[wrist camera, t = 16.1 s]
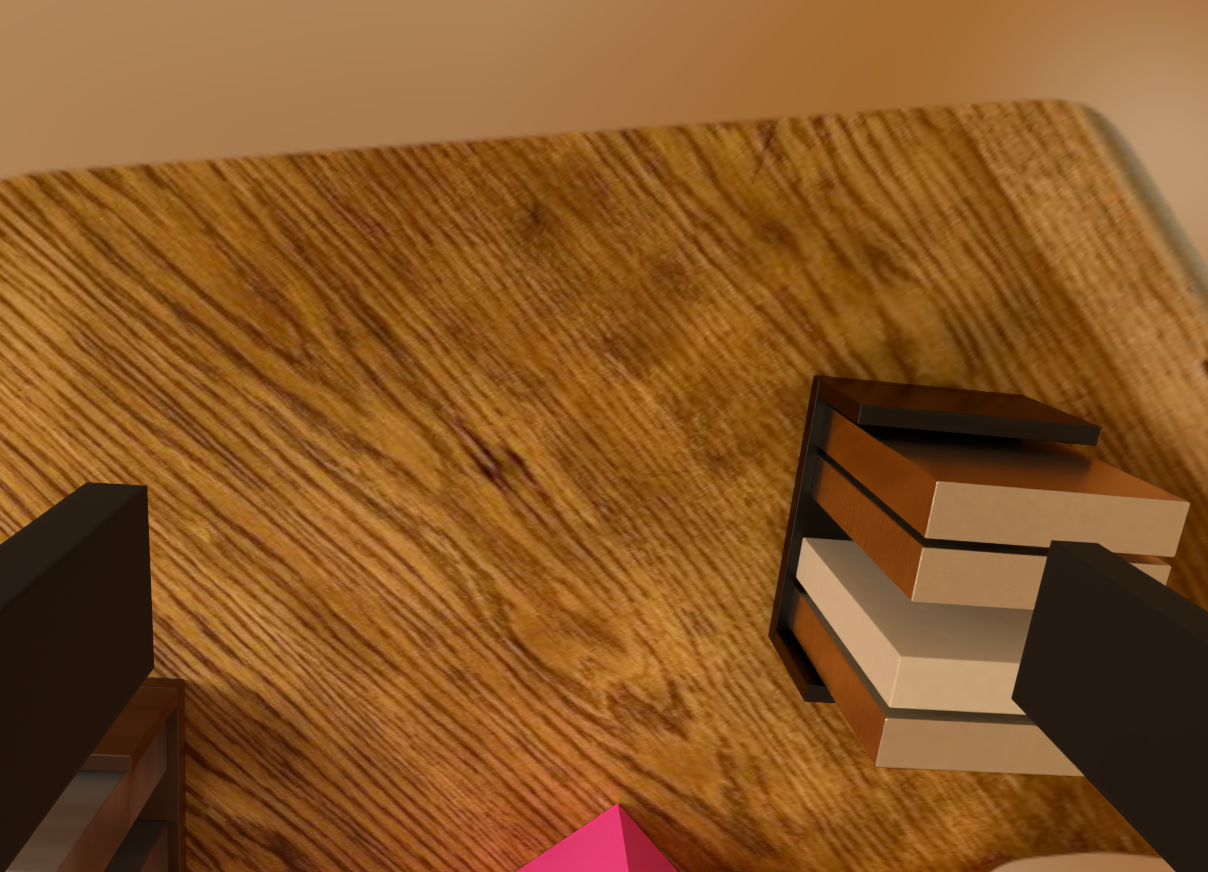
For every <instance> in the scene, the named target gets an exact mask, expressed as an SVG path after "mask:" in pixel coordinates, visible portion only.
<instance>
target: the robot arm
mask: <svg viewBox="0 0 1208 872" xmlns="http://www.w3.org/2000/svg"><path fill="white" fill-rule="evenodd" d="M153 668H154V649H153V624H152V598H151V573H150V547H149V522H148V496H147V486H141V485H125V484H108V483H91V482H87V483H85V484H84V485H82V486H81V487H80V488H78V489H77V490H75V491H74V492H73V493H71V494H70V495H69V496H67V497H66V498H64V499H63V500H62V501H60V502H59V503H57V504H56V505H55V506H53V507H52V508H50V509H49V510H48V511H46V512H45V513H44V514H42V515H41V516H39V517H38V518H37V519H35V520H34V521H32V522H31V523H30V524H28V525H27V526H26V527H24V528H23V529H21V530H20V531H19V532H17V533H16V534H14V535H13V536H12V537H10V538H9V539H8V540H6V541H5V542H3V543H2V544H1V545H0V872H6V870H7V869H8V867H9V866H10V865H11V863H12V862H13V861H14V859H15V858H16V856H17V855H18V854H19V852H20V851H21V850H22V848H23V847H24V845H25V844H26V843H27V841H28V840H29V839H30V837H31V836H32V834H33V833H34V832H35V830H36V829H37V828H38V826H39V825H40V823H41V822H42V821H43V819H44V818H45V817H46V815H47V814H48V813H49V811H50V810H51V808H52V807H53V806H54V804H55V803H56V802H57V800H58V799H59V797H60V796H61V795H62V793H63V792H64V791H65V789H66V788H67V786H68V785H69V784H70V782H71V781H72V780H73V778H74V777H75V775H76V774H77V773H78V771H79V770H80V769H81V767H82V766H83V764H84V763H85V762H86V760H87V759H88V758H89V756H90V755H91V753H92V752H93V751H94V749H95V748H96V747H97V745H98V744H99V742H100V741H101V740H102V738H103V737H104V736H105V734H106V733H107V731H108V730H109V729H110V727H111V726H112V725H113V723H114V722H115V721H116V719H117V718H118V716H119V715H120V714H121V712H122V711H123V710H124V708H125V707H126V705H127V704H128V703H129V701H130V700H131V699H132V697H133V696H134V694H135V693H136V692H137V690H138V689H139V688H140V686H141V685H142V683H143V682H144V681H145V679H146V678H147V677H148V675H149V674H150V672H151V671H152V670H153ZM1011 699H1012V700H1013V701H1014V702H1015V703H1016V704H1017V706H1018V707H1019V708H1020V709H1021V710H1022V711H1023V712H1024V713H1025V714H1026V715H1027V716H1028V717H1029V718H1030V719H1031V720H1032V721H1033V722H1034V723H1035V724H1036V725H1037V727H1038V728H1039V729H1040V730H1041V731H1042V732H1043V733H1044V734H1045V735H1046V736H1047V737H1048V738H1049V739H1050V740H1051V741H1052V742H1053V743H1054V744H1055V745H1056V747H1057V748H1058V749H1059V750H1060V751H1061V752H1062V753H1063V754H1064V755H1065V756H1066V757H1067V758H1068V759H1069V760H1070V761H1071V762H1072V763H1073V764H1074V765H1075V766H1076V768H1077V769H1078V770H1079V771H1080V772H1081V773H1082V774H1083V775H1084V776H1085V777H1086V778H1087V779H1088V780H1089V781H1090V782H1091V783H1092V784H1093V785H1094V786H1095V788H1096V789H1097V790H1098V791H1099V792H1100V793H1101V794H1102V795H1103V796H1104V797H1105V798H1106V799H1107V800H1108V801H1109V802H1110V803H1111V804H1112V805H1113V806H1114V807H1115V809H1116V810H1117V811H1118V812H1119V813H1120V814H1121V815H1122V816H1123V817H1124V818H1125V819H1126V820H1127V821H1128V822H1129V823H1130V824H1131V825H1132V826H1133V827H1134V829H1135V830H1136V831H1137V832H1138V833H1139V834H1140V835H1141V836H1142V837H1143V838H1144V839H1145V840H1146V841H1147V842H1148V843H1149V844H1150V845H1151V846H1152V847H1153V848H1154V850H1155V851H1156V852H1157V853H1158V854H1159V855H1160V856H1161V857H1162V858H1163V859H1164V860H1165V861H1166V862H1167V863H1168V864H1169V865H1170V866H1171V867H1172V868H1173V870H1174V871H1175V872H1208V612H1207V611H1205V610H1204V609H1202V608H1200V607H1199V606H1197V605H1196V604H1194V603H1192V602H1191V601H1189V600H1188V599H1186V598H1184V597H1183V596H1181V595H1180V594H1178V593H1176V592H1175V591H1173V590H1172V589H1170V588H1169V587H1167V586H1165V585H1164V584H1162V583H1161V582H1159V581H1157V580H1156V579H1154V578H1153V577H1151V576H1149V575H1148V574H1146V573H1145V572H1143V571H1142V570H1140V569H1138V568H1137V567H1135V566H1134V565H1132V564H1130V563H1129V562H1127V561H1126V560H1124V559H1122V558H1121V557H1119V556H1118V555H1116V554H1115V553H1113V552H1111V551H1110V550H1108V549H1107V548H1105V547H1103V546H1102V545H1100V544H1099V543H1091V542H1074V541H1058V540H1051V544H1050V547H1049V551H1048V555H1047V559H1046V563H1045V567H1044V571H1043V575H1042V579H1041V583H1040V587H1039V591H1038V595H1037V599H1036V603H1035V606H1034V610H1033V614H1032V618H1031V622H1030V626H1029V630H1028V634H1027V638H1026V642H1025V646H1024V650H1023V654H1022V658H1021V662H1020V665H1019V669H1018V673H1017V677H1016V681H1015V685H1014V689H1013V693H1012V697H1011Z"/></svg>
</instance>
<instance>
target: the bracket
mask: <svg viewBox="0 0 1208 872" xmlns="http://www.w3.org/2000/svg"><path fill="white" fill-rule="evenodd" d="M516 872H677V870H676V869H675V868H674V867H673V866H672V865H671V863H670V862H669V861H668V860H667V859H666V858H665V857H664V855H663V854H662V853H661V852H660V851H659V850H658V849H657V847H656V846H655V845H654V844H653V843H652V842H651V840H650V839H649V838H648V837H647V836H646V835H645V834H644V832H643V831H642V830H641V829H640V828H639V827H638V825H637V824H636V823H635V822H634V821H633V820H632V819H631V817H630V816H629V815H628V814H627V813H626V812H625V810H624V809H623V808H622V807H621V806H620V805H619V804H618V803H617V804H616V805H614V806H613V807H611V808H610V809H608V810H607V811H605V812H604V813H602V814H601V815H599V816H598V817H596V818H595V819H593V820H592V821H590V822H589V823H587V824H586V825H584V826H583V827H581V828H580V829H578V830H577V831H575V832H574V833H572V834H571V835H569V836H568V837H566V838H565V839H563V840H562V841H560V842H559V843H557V844H556V845H554V846H553V847H552V848H550V849H549V850H547V851H546V852H544V853H543V854H541V855H540V856H538V857H537V858H535V859H534V860H532V861H531V862H529V863H528V864H526V865H525V866H523V867H522V868H520V869H519V870H517V871H516Z"/></svg>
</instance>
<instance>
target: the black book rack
mask: <svg viewBox="0 0 1208 872" xmlns="http://www.w3.org/2000/svg"><path fill="white" fill-rule="evenodd" d="M1100 429H1101V427H1099V426H1097V425H1095V424H1092V423H1090V422H1087V421H1085V420H1082V419H1080V418H1077V417H1075V416H1072V415H1070V414H1067V413H1065V412H1063V411H1060V410H1058V409H1055V408H1053V407H1050V406H1048V405H1045V404H1043V403H1040V402H1038V401H1035V400H1033V399H1030V398H1028V397H1026V396H1023V395H1015V394H1005V393H994V392H984V391H974V390H963V389H953V388H943V387H932V386H922V385H911V384H901V383H891V382H880V381H870V380H860V379H849V378H839V377H829V376H818V375H815V376H814V378H813V384H812V390H811V396H810V401H809V407H808V413H807V418H806V424H805V430H804V435H803V441H802V447H801V453H800V458H799V464H798V470H797V475H796V481H795V487H794V493H793V498H792V504H791V510H790V515H789V521H788V527H787V533H786V538H785V544H784V550H783V555H782V561H781V567H780V573H779V578H778V584H777V590H776V595H775V601H774V607H773V612H772V618H771V624H770V630H769V635H768V636H769V638H770V640H771V641H772V643H773V645H774V647H775V649H776V651H777V653H778V654H779V656H780V658H781V660H782V662H783V663H784V665H785V667H786V669H787V671H788V672H789V674H790V676H791V678H792V680H793V681H794V683H795V685H796V687H797V689H798V690H799V692H800V694H801V696H802V698H803V699H804V701H805V702H822V703H836V704H837V705H838V707H839V709H840V710H841V712H842V714H843V715H844V717H845V718H846V720H847V722H848V723H849V725H850V727H851V728H852V730H853V731H854V733H855V735H856V736H857V738H858V740H859V741H860V743H861V744H862V746H863V748H864V749H865V751H866V753H867V754H868V756H869V757H870V759H871V761H872V762H873V764H874V766H875V767H882V768H904V769H927V770H949V771H972V772H994V773H1017V774H1039V775H1062V776H1084V775H1083V774H1082V773H1081V772H1080V771H1079V770H1078V769H1077V768H1076V766H1075V765H1074V764H1073V763H1072V762H1071V761H1070V760H1069V759H1068V758H1067V757H1066V756H1065V755H1064V754H1063V753H1062V752H1061V751H1060V750H1059V749H1058V748H1057V747H1056V745H1055V744H1054V743H1053V742H1052V741H1051V740H1050V739H1049V738H1048V737H1047V736H1046V735H1045V734H1044V733H1043V732H1042V731H1041V730H1040V729H1039V728H1038V727H1037V725H1036V724H1035V723H1034V722H1033V721H1032V720H1031V719H1030V718H1029V717H1028V716H1027V715H1021V714H1002V713H983V712H964V711H945V710H926V709H907V708H890V707H889V706H888V705H887V703H886V702H885V701H884V699H883V698H882V696H881V695H880V694H879V692H878V691H877V689H876V688H875V687H874V685H873V684H872V682H871V681H870V680H869V678H868V677H867V675H866V674H865V673H864V671H863V670H862V668H861V667H860V666H859V664H858V663H857V661H856V660H855V659H854V657H853V656H852V654H851V653H850V652H849V650H848V649H847V647H846V646H845V645H844V643H843V642H842V640H841V639H840V638H839V636H838V635H837V633H836V632H835V631H834V629H833V628H832V626H831V625H830V624H829V622H828V621H827V619H826V618H825V617H824V615H823V614H822V612H821V611H820V610H819V608H818V607H817V605H816V604H815V603H814V601H813V600H812V598H811V597H810V596H809V594H808V593H807V591H806V590H805V589H804V587H803V586H802V584H801V583H800V582H799V580H798V579H797V577H796V574H797V569H798V563H799V558H800V552H801V547H802V541H803V538H818V539H831V540H844V541H854V542H855V543H856V544H857V545H858V546H859V547H860V548H861V549H862V550H863V551H864V552H865V553H866V555H867V556H868V557H869V558H870V559H871V560H872V561H873V562H874V563H875V564H876V565H877V566H878V567H879V568H880V569H881V570H882V571H883V572H884V573H885V575H886V576H887V577H888V578H889V579H890V580H891V581H892V582H893V583H894V584H895V585H896V586H897V587H898V588H899V589H900V590H901V591H902V592H903V593H904V594H905V596H906V597H907V598H908V599H909V600H910V601H912V602H921V603H936V604H951V605H966V606H981V607H996V608H1011V609H1026V610H1034V606H1035V603H1036V599H1037V595H1038V591H1039V587H1040V583H1041V579H1042V575H1043V571H1044V567H1045V563H1046V559H1047V555H1048V551H1049V547H1050V544H1051V540H1058V541H1074V542H1091V543H1099V544H1100V545H1102V546H1103V547H1105V548H1107V549H1108V550H1110V551H1111V552H1113V553H1115V554H1116V555H1118V556H1119V557H1121V558H1122V559H1124V560H1126V561H1127V562H1129V563H1130V564H1132V565H1134V566H1135V567H1137V568H1138V569H1140V570H1142V571H1143V572H1145V573H1146V574H1148V575H1149V576H1151V577H1153V578H1154V579H1156V580H1157V581H1159V582H1161V583H1162V584H1164V585H1165V586H1166V584H1167V580H1168V577H1169V573H1170V570H1171V566H1170V565H1168V564H1166V563H1165V562H1163V561H1161V560H1159V559H1158V558H1156V557H1154V556H1166V557H1174V556H1175V554H1176V551H1177V547H1178V544H1179V540H1180V537H1181V534H1182V530H1183V527H1184V523H1185V520H1186V517H1187V513H1188V510H1189V506H1190V503H1189V502H1188V501H1185V500H1183V499H1181V498H1179V497H1177V496H1175V495H1173V494H1170V493H1168V492H1166V491H1164V490H1162V489H1160V488H1158V487H1155V486H1153V485H1151V484H1149V483H1147V482H1145V481H1142V480H1140V479H1138V478H1136V477H1134V476H1132V475H1130V474H1127V473H1125V472H1123V471H1121V470H1119V469H1117V468H1115V467H1112V466H1110V465H1108V464H1106V463H1104V462H1102V461H1099V460H1097V459H1095V458H1093V457H1091V456H1089V455H1087V454H1084V453H1082V452H1080V451H1078V450H1076V449H1074V448H1071V447H1069V446H1067V445H1065V444H1063V443H1071V444H1082V445H1093V446H1094V445H1096V444H1097V441H1098V437H1099V433H1100ZM1084 777H1085V776H1084Z"/></svg>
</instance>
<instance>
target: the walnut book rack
mask: <svg viewBox="0 0 1208 872" xmlns="http://www.w3.org/2000/svg"><path fill="white" fill-rule="evenodd" d="M6 872H186V856H185V718H184V680H182V679H162V678H146V679H145V681H144V682H143V683H142V685H141V686H140V688H139V689H138V690H137V692H136V693H135V694H134V696H133V697H132V699H131V700H130V701H129V703H128V704H127V705H126V707H125V708H124V710H123V711H122V712H121V714H120V715H119V716H118V718H117V719H116V721H115V722H114V723H113V725H112V726H111V727H110V729H109V730H108V731H107V733H106V734H105V736H104V737H103V738H102V740H101V741H100V742H99V744H98V745H97V747H96V748H95V749H94V751H93V752H92V753H91V755H90V756H89V758H88V759H87V760H86V762H85V763H84V764H83V766H82V767H81V769H80V770H79V771H78V773H77V774H76V775H75V777H74V778H73V780H72V781H71V782H70V784H69V785H68V786H67V788H66V789H65V791H64V792H63V793H62V795H61V796H60V797H59V799H58V800H57V802H56V803H55V804H54V806H53V807H52V808H51V810H50V811H49V813H48V814H47V815H46V817H45V818H44V819H43V821H42V822H41V823H40V825H39V826H38V828H37V829H36V830H35V832H34V833H33V834H32V836H31V837H30V839H29V840H28V841H27V843H26V844H25V845H24V847H23V848H22V850H21V851H20V852H19V854H18V855H17V856H16V858H15V859H14V861H13V862H12V863H11V865H10V866H9V867H8V869H7V870H6Z"/></svg>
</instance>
